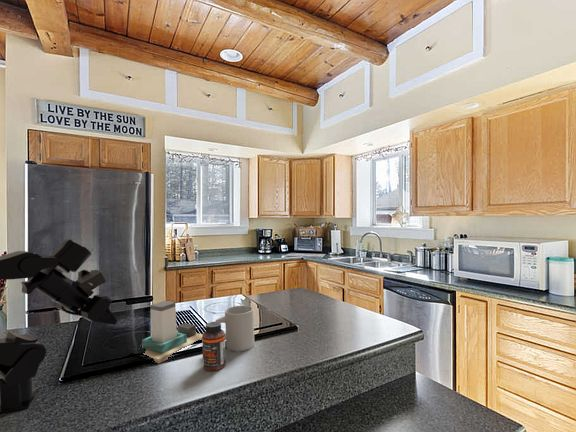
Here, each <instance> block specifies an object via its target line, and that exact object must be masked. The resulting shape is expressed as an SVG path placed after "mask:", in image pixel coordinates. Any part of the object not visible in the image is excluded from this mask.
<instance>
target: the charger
mask: <svg viewBox="0 0 576 432" xmlns="http://www.w3.org/2000/svg"><path fill="white" fill-rule="evenodd" d="M149 307H150V320H151V322H150V324H151V336H152V341H155V342H158V343H162V344H163V343H165V342H167V341H169V340H172V339H174V338H176V337H177V330H178V326H177V308H176V302H174V301H168V300H163V301H160V302H157V303H153V304H151V305H150V306H149Z"/></svg>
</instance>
